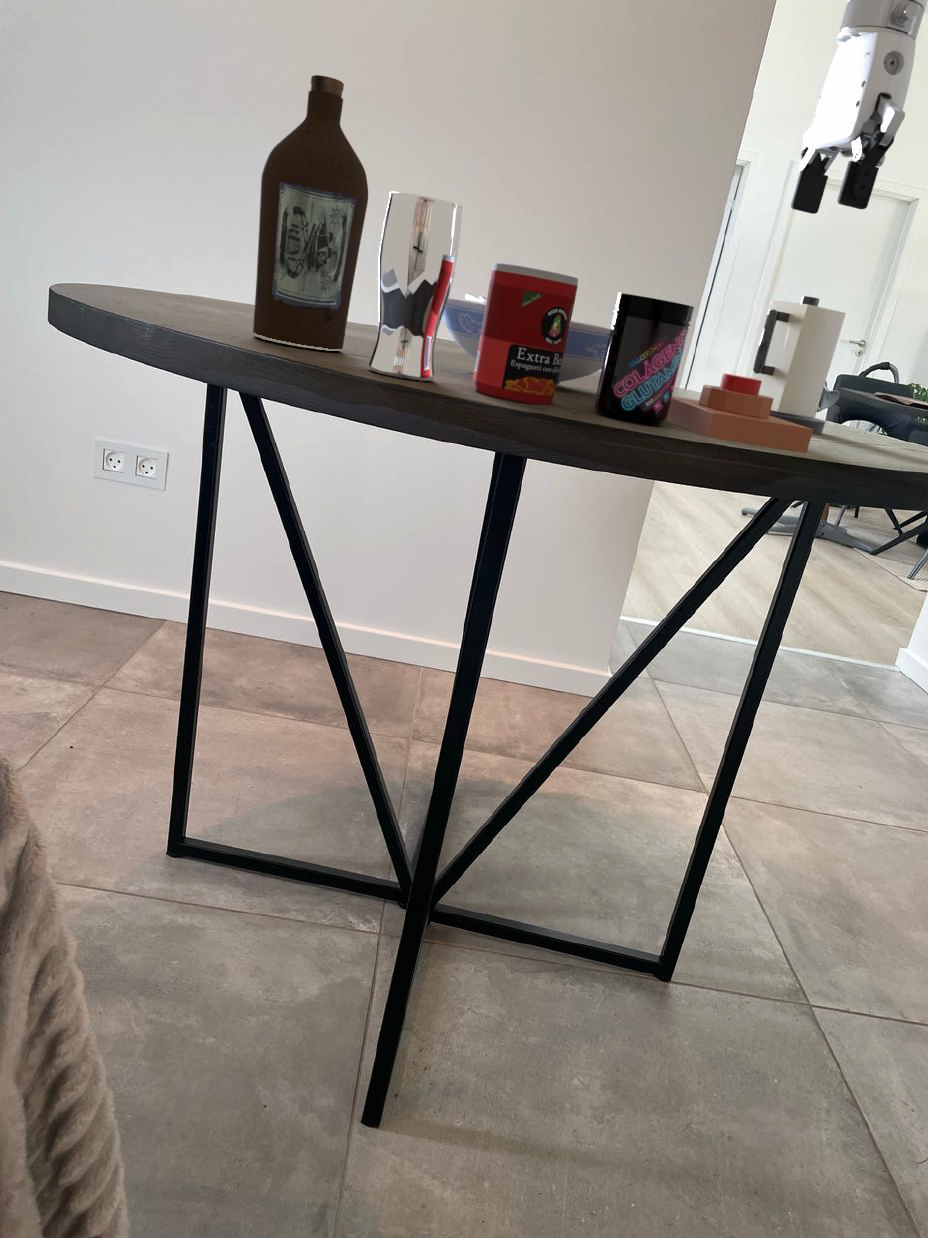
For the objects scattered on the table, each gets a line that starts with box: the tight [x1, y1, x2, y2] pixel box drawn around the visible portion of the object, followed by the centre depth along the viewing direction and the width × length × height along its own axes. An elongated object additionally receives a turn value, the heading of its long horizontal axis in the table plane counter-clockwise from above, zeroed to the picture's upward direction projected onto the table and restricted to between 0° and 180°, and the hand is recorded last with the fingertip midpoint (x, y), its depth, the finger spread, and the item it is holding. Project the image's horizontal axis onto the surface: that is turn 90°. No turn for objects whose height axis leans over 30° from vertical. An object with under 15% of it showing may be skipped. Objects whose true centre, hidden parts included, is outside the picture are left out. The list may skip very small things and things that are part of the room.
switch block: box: [666, 384, 813, 454], centre depth 88 cm, size 10×12×4 cm
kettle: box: [749, 295, 846, 418], centre depth 109 cm, size 11×6×13 cm, turn 115°
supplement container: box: [593, 292, 695, 428], centre depth 82 cm, size 7×7×10 cm
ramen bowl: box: [442, 293, 611, 385], centre depth 105 cm, size 25×23×8 cm
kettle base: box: [769, 410, 826, 436], centre depth 111 cm, size 11×11×2 cm
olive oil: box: [252, 74, 369, 350], centre depth 94 cm, size 11×11×25 cm
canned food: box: [472, 262, 579, 405], centre depth 83 cm, size 8×8×11 cm
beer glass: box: [368, 191, 465, 383], centre depth 83 cm, size 7×7×15 cm
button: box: [719, 372, 762, 396], centre depth 87 cm, size 4×4×2 cm
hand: (826, 208), depth 100 cm, fingers open, 9 cm apart
